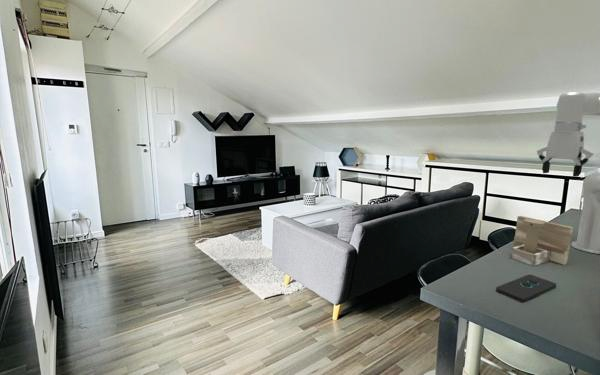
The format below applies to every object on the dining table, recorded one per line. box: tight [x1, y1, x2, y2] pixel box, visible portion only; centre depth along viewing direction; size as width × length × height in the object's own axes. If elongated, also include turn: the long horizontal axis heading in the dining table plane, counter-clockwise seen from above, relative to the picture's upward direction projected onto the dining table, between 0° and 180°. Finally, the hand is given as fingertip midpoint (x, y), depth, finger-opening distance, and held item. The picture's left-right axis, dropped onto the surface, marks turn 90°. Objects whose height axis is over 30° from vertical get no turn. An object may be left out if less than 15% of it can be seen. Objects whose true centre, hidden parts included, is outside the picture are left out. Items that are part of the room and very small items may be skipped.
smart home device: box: [495, 274, 557, 303], centre depth 102 cm, size 8×2×20 cm
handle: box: [524, 219, 545, 254], centre depth 125 cm, size 5×6×15 cm
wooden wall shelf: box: [509, 215, 574, 267], centre depth 126 cm, size 13×18×14 cm
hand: (560, 174), depth 123 cm, fingers open, 9 cm apart
